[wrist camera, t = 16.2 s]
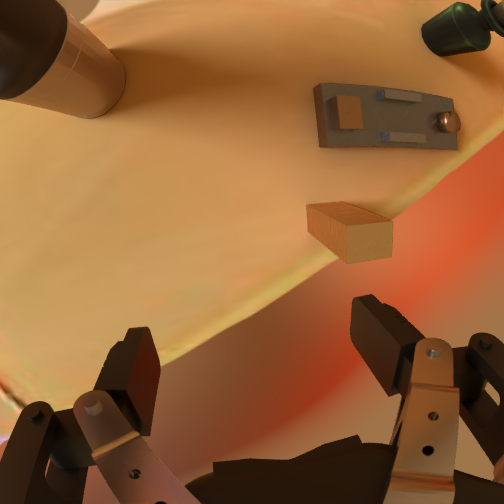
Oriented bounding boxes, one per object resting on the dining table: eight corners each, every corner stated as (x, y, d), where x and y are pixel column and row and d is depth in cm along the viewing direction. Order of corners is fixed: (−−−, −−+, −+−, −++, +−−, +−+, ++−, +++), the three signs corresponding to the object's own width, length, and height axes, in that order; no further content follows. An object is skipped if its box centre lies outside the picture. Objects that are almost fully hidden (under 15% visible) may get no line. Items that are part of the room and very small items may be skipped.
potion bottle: (408, 22, 31) (482, -16, 14) (436, 16, 31) (506, -13, 14) (432, 65, 34) (515, 44, 17) (458, 56, 33) (534, 39, 16)
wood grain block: (307, 231, 39) (346, 264, 27) (306, 204, 38) (346, 226, 26) (342, 227, 40) (391, 257, 27) (341, 201, 39) (393, 221, 26)
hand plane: (319, 147, 36) (333, 145, 31) (313, 88, 34) (326, 78, 29) (445, 149, 38) (466, 150, 33) (440, 100, 35) (461, 97, 31)
